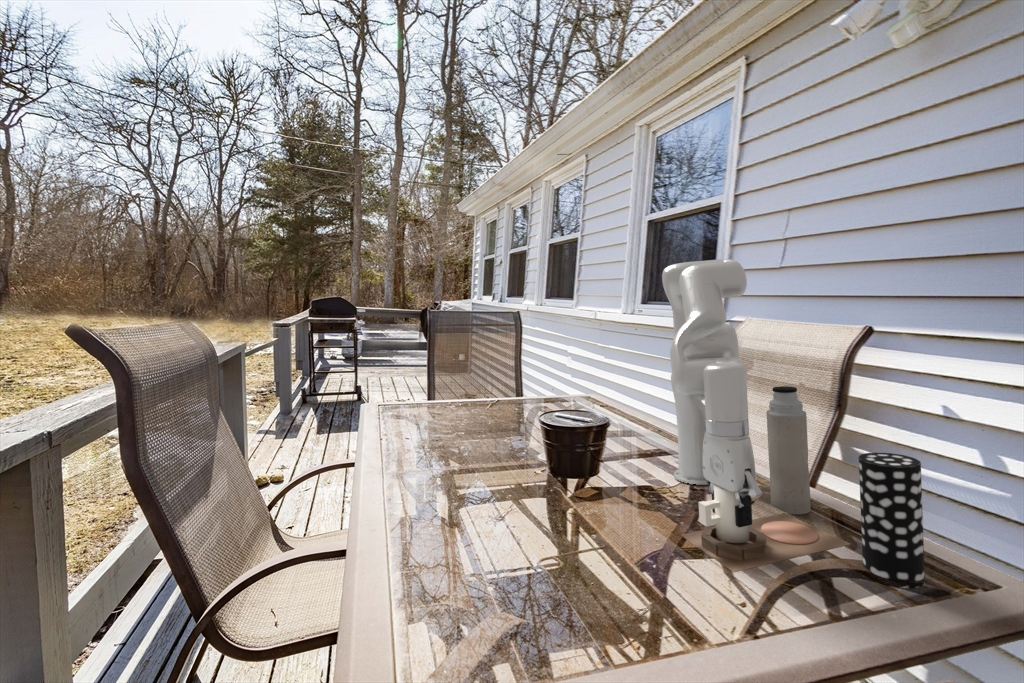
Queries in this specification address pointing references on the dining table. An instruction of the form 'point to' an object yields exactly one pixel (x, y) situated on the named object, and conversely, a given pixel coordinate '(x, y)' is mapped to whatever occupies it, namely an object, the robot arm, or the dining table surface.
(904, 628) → the dining table surface
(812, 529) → the holder board
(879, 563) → the white-spotted black cylinder
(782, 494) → the thermos bottle
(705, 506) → the white ceramic pitcher
